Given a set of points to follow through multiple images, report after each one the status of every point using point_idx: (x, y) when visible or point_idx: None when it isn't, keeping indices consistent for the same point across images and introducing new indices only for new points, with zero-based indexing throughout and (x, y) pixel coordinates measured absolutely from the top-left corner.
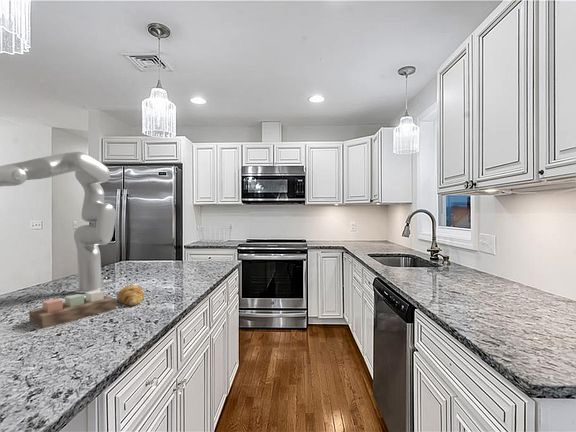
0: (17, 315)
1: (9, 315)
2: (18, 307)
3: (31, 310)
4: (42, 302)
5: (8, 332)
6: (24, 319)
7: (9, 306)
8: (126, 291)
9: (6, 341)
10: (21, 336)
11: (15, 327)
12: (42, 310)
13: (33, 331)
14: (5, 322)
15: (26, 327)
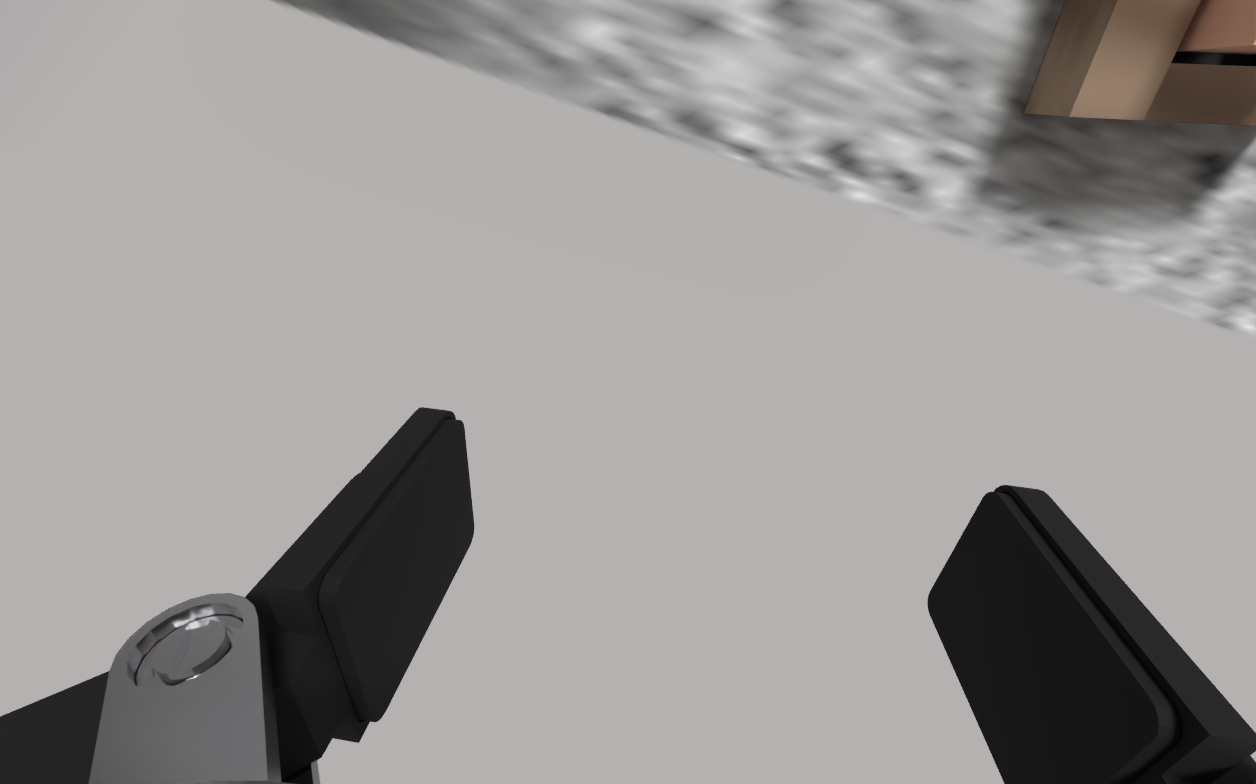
0: (776, 96)
1: (722, 126)
2: (551, 2)
3: (1089, 106)
4: (1248, 45)
5: (1076, 258)
6: (925, 108)
7: (461, 32)
8: None
9: (1207, 314)
10: (1231, 250)
11: (1031, 205)
12: (1174, 47)
13: (1238, 181)
14: (862, 198)
15: (1110, 172)
